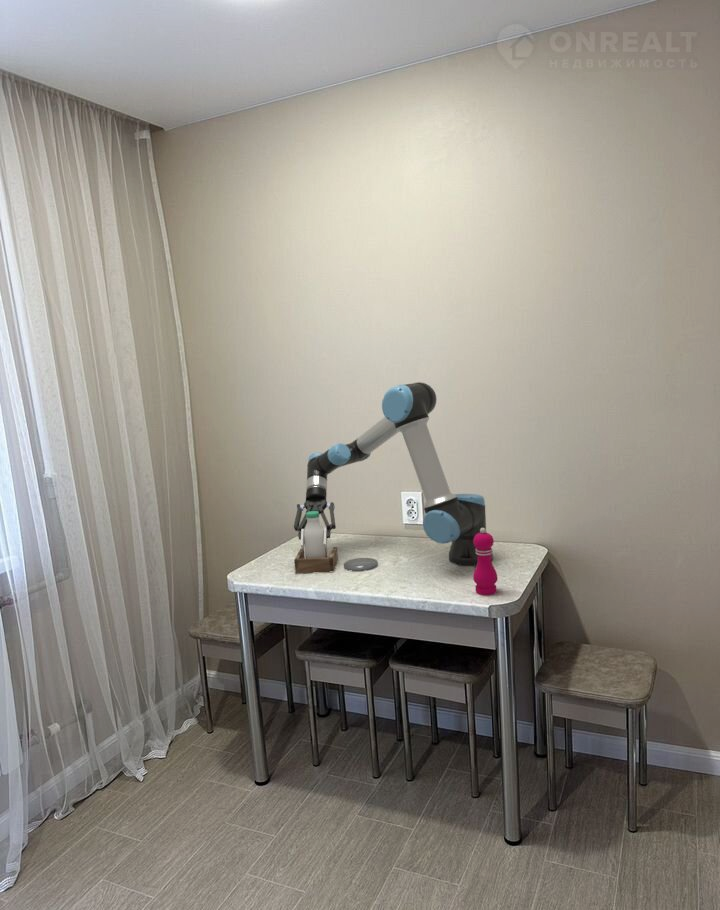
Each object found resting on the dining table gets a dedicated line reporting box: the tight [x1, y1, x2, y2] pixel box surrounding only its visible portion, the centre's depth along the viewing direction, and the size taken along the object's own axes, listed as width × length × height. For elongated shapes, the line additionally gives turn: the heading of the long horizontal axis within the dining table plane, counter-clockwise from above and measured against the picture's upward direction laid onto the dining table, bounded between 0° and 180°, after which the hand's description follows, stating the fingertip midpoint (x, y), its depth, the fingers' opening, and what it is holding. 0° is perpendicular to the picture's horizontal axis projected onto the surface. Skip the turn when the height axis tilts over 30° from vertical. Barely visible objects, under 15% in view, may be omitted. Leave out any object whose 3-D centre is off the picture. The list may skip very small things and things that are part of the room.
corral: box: [293, 546, 339, 574], centre depth 250 cm, size 13×13×5 cm
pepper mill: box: [473, 528, 498, 596], centre depth 212 cm, size 7×7×20 cm
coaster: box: [343, 557, 379, 572], centre depth 248 cm, size 12×12×1 cm
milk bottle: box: [304, 511, 328, 558], centre depth 249 cm, size 8×8×20 cm
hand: (313, 546), depth 246 cm, fingers closed on milk bottle, 7 cm apart
